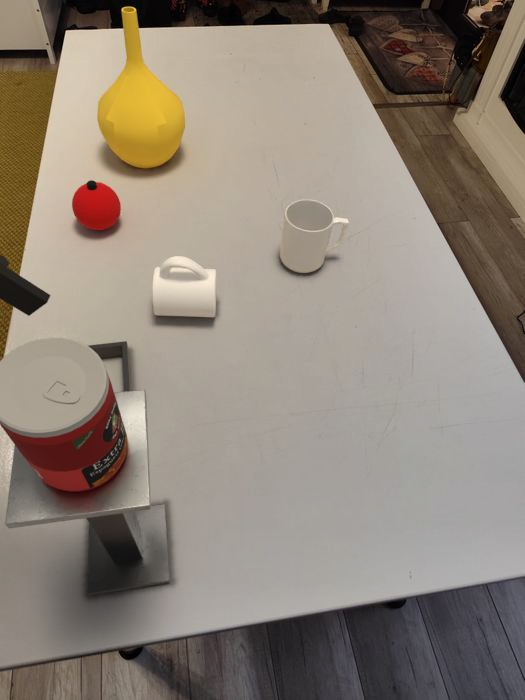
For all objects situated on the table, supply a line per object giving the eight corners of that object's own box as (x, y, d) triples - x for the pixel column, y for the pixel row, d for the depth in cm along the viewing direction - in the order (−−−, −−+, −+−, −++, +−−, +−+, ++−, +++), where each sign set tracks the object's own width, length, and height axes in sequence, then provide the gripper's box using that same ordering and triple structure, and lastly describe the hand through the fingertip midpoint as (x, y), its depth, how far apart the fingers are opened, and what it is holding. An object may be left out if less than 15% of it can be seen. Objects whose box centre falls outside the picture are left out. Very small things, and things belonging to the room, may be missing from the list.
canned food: (111, 503, 41) (83, 443, 33) (15, 484, 42) (-39, 419, 33) (141, 420, 46) (123, 347, 37) (54, 403, 46) (16, 327, 37)
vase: (98, 178, 112) (66, 28, 88) (112, 130, 123) (86, -15, 99) (183, 182, 113) (175, 36, 89) (189, 135, 124) (183, -7, 100)
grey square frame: (133, 418, 79) (130, 408, 77) (47, 430, 77) (41, 420, 75) (129, 351, 86) (126, 340, 84) (49, 360, 84) (44, 350, 82)
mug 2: (282, 277, 99) (289, 232, 90) (275, 245, 104) (281, 199, 95) (343, 274, 101) (356, 230, 92) (333, 242, 106) (344, 197, 97)
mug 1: (214, 326, 91) (214, 279, 81) (155, 325, 90) (147, 276, 80) (216, 291, 96) (216, 242, 86) (160, 289, 95) (153, 240, 85)
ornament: (75, 212, 105) (64, 170, 97) (120, 207, 107) (113, 165, 99) (79, 242, 100) (67, 200, 92) (126, 236, 102) (119, 194, 94)
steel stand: (84, 600, 64) (4, 524, 40) (87, 512, 70) (19, 401, 46) (174, 586, 66) (149, 505, 42) (169, 501, 72) (145, 389, 48)
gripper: (-260, 74, 33) (41, 272, 45) (-762, 424, 18) (-113, 579, 30) (-235, -12, 28) (90, 233, 40) (-870, 355, 14) (-62, 568, 26)
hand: (4, 381), depth 35 cm, fingers open, 13 cm apart
